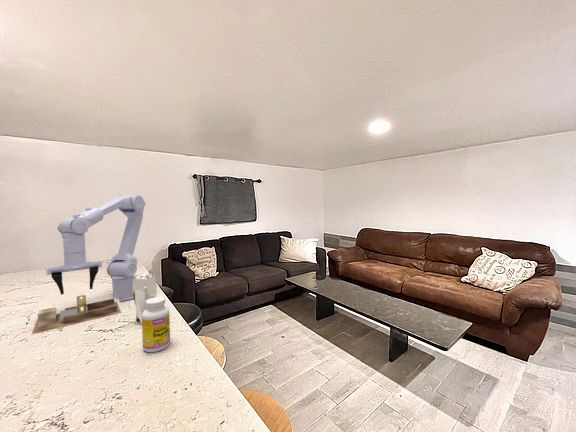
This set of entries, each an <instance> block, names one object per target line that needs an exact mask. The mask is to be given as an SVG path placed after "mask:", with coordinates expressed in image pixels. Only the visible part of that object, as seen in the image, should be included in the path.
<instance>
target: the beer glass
mask: <svg viewBox="0 0 576 432" xmlns="http://www.w3.org/2000/svg"><path fill="white" fill-rule="evenodd" d="M137 275H138V276H135V275H134V276H135V277H133V298H134V299H133V301H134V305H135V308H136V310H135V311H136V316H135V324H137V325H141V326H142V313H143V312H144V311H145V310H146V309H147V307H146V300H148V299H150V298H154V297H157V290H158V289H157V279H156V274H155V273H143V274H137Z"/></svg>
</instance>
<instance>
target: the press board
mask: <svg viewBox="0 0 576 432" xmlns="http://www.w3.org/2000/svg"><path fill="white" fill-rule="evenodd" d="M86 306H87V309H88V312H84V313H79V314H75V315H70V316H66V317H64V322H61V323H60V313H56V314H57V320H56V323H54V324H50V325H45V326H41V327H38V318H36V322H35V325H34V327H33V328H32V329H33V330H32V332H31V335H35V334H40V333H44V332H48V331H51V330H56V329H59V328H64V327H69V326H72V325H77V324H80V323H85V322H89V321H93V320H97V319H102V318H106V317H109V316H110V317H111V316H115V315H117V314H118V315H119V314H121V313H122V312H121V309H120V306H119V304H118V301H115V298H110V299H106V300H100V301H96V302H91V303H86ZM73 308H77V305H76V306H72V307H66V308H64V310H69V309H73Z"/></svg>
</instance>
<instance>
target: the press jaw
mask: <svg viewBox="0 0 576 432" xmlns="http://www.w3.org/2000/svg"><path fill="white" fill-rule="evenodd" d="M86 296H87V295H85V294H81V295H78V296H76V306H77V308H73V309H69V310H65V309H64V310H60V313H59V314H60V323H61V322H64V317H66V316H70V315H75V314H79V313H84V312H88V309H87V306H86V304H87V298H86Z"/></svg>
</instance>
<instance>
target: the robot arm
mask: <svg viewBox="0 0 576 432" xmlns="http://www.w3.org/2000/svg"><path fill="white" fill-rule="evenodd" d="M145 206H146V202H145V200H144V198H143V196H142V195H141V194H133V195H132V194H129V195H127V194H126V195H124V194H123V195H122V194H121V195H118V196H116V197H115V196H114V197H113V198H112V199H111V200H109V201H107V202H106V203H104V204H102V205H101V206H98V207H95V206H89V207H86V208H85V210H83V211H81V212H79V213H74V214H73V216H72V217H65V218H63V219H61V220H60V222H59V223H58V226H57V227H56V229H57V231H58V232H59V234H61V239H62V246H63V258H64V259H63V262H64V264H63V265H59V266H54V267H53V266H52V267H47V268H46V275H47V276H49V275H51V279H52V280H53V281H54V283H55V284H56V286H57V288H58V290H59V292H60V295H65V294H64V291H65V290H64V285H63V273H67V272H73V271H74V272H76V271H80V270H81V271H82V270H89V272H88V273H89V290H93V287H94V286H93V285H94V282H95V280H96V277H97V274H98V272H99V268H103V262H102V261H101V260H100V261H89V262H87V255H86V239H85V238H86V237H85V236H86V235H85V234H86V233H87V232H88V230H89V228H91V227H93V226H94V225H96V224H98V223H100V222H101V221H103V220H104V216H105V215H107V214H110V213H112V212H114V211H116V210H119V211H120V212H121V213H122V214H123V215H124V216H126V218H127V221H126V225H125V227H124V231H123V234H122V237H121V242H120V245H119V249H118V251H117V254H115V255H114V256H113V257H112V258H111V260H110V262H109V264H108V265H107V267H106V274H107V275H108V276H109V277H110V279H111V280H112V281H111V284H112V287H111V288H112V299H118V301H119V302H120V303H121V302H125V301H130V300H134V298H133V277H135V276H138V275H139V274H137V275H136V273H137V270H138V266H137V265H138V264H137V263H138V259H137V258H136V257H135V256H134V252H135V248H136V245H137V241H138V237H139V234H140V230H141V226H142V221H143V218H144V210H145Z"/></svg>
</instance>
